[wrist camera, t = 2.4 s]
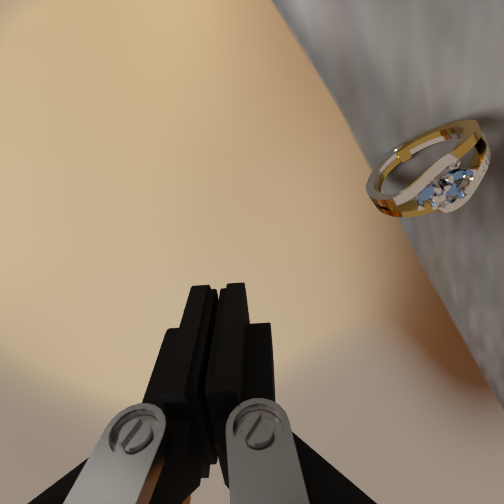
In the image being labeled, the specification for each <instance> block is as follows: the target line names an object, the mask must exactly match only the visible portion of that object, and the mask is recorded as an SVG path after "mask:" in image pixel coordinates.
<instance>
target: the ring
mask: <svg viewBox="0 0 504 504" xmlns="http://www.w3.org/2000/svg"><path fill="white" fill-rule="evenodd" d="M450 139H460V140H459V141H458V143H457V144H456V146H455V147H454V148H453V149H452V151H451V152H450V153H449V154H447V155H445V156H444V157H442V158H441V159H439V160H437V161H436V162H435V163H433V164H432V165H431V166H430V167H429V168H428V169H427V170H426V171H425V172H424V173H423V174H422V175H421V176H420V177H419V178H418V179H417V180H416V181H414V182H413V183H412V184H411V185H410V186H408V187H407V188H406V189H404V190H402V191H400V192H398V193H395V194H382V193H381V186H382V183H383V181H384V179H385V177H386V176H387V174H388V173H389V172H390V171H391V170H392V169H393V168H394V167H395V166H396V165H397V164H399V163H400V162H401V163H402V162H405V161H407V160H408V159H410V158H411V157H412V154H414V153H415V152H417V151H419V150H421V149H423V148H425V147H427V146H430V145H432V144H435V143H438V142H441V141H445V140H450ZM473 146H474V147H475V154H474V158H473V162H472V164H471V166H470V169H468V168H463V167H461V168H458V166H459V165H460V162H461V161H460V160H459V159H460V158H461V157H462V156H463V155H465V154H466V153H467V152H468V151H469V150H470V149H471V148H472V147H473ZM392 151H393V152H391V153H390V154H389V155H387V156H386V157H385V158H384V159H383V160H382V161H381V162H380V163H379V164H378V165H377V166H376V167H375V168H374V170H373V171H372V173H371V174H370V176H369V178H368V181H367V184H366V191H367V194H368V196H369V197H370V199H371V201H372V202H373V203H374V205H375V206H376V208H377V209H378V210H379V211H381V212H382V213H384V214H386V215H389V216H393V217H413V216H419V215H423V214H427V213H431V212H434V211H437V212H440V213H448V212H451V211H454V210H456V209H458V208H460V207H461V206H462V205H463V204H465V203H466V202H467V201H468V200H469V198H470V197H471V196H472V195H473V193H474V192H475V190H476V189H477V187H478V185H479V184H480V182H481V180H482V179H483V177H484V175H485V173H486V171H487V169H488V166H489V163H490V158H491V152H490V147H489V145H488V143H487V140H486V138H485V135H484V134H483V132H482V130H481V128H480V126H479V124H478V122H477V121H475V120H461V121H456V122H452V123H448V124H445V125H442V126H439V127H437V128H434V129H432V130H429V131H427V132H425V133H423V134H421V135H419V136H417V137H415V138H413V139H411V140H410V141H408V142H406V143H405V144H403V143H402V144H400V145H398V146H397V147H395V148H394V149H393V150H392ZM441 171H442V172H441ZM436 176H437V177H436ZM435 177H436V179H434V178H435ZM463 177H465V178H464V180H463V181H462V183H461V184H460V186H458V185H456V184H455V183H453V182H454V181H456V180H460V179H462V178H463ZM445 193H446V194H448V195H452V196H451V197H450V198H448V197H447V195H446V194H445ZM414 196H415V200H413V201H408V200H410V199H411V198H413V197H414ZM407 201H408V202H407Z"/></svg>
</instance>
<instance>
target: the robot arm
mask: <svg viewBox="0 0 504 504" xmlns="http://www.w3.org/2000/svg"><path fill="white" fill-rule="evenodd" d="M218 458H219V462H220V466H221V470H222V474H223V478H224V482H225V485H226V486H227V487H228V488H229V490H230V504H377V503H375V502H374V501H373V500H372V499H371V498H370V497H368V496H367V495H366V494H365V493H364V492H363V491H361V490H360V489H359V488H358V487H357V486H355V485H354V484H353V483H352V482H351V481H350V480H348V479H347V478H346V477H345V476H344V475H342V474H341V473H340V472H339V471H338V470H337V469H335V468H334V467H333V466H332V465H331V464H329V463H328V462H327V461H326V460H325V459H324V458H322V457H321V456H320V455H319V454H318V453H316V452H315V451H314V450H313V449H312V448H310V447H309V446H308V445H307V444H306V443H305V442H303V441H302V440H301V439H300V438H299V437H298V436H296V435H295V434H294V433H293V432H292V430H291V427H290V422H289V419H288V417H287V414H286V412H285V411H284V410H283V409H282V408H281V406H280V405H279V404H277V403H275V383H274V363H273V347H272V336H271V324H270V323H255V324H250V321H249V313H248V305H247V297H246V290H245V283H230V284H227V287H226V288H224V289H221V290H220V296H219V300H218V294H217V290H216V289H211V287H210V285H199V286H192V287H191V290H190V293H189V296H188V300H187V303H186V307H185V310H184V313H183V317H182V320H181V323H180V327H179V328H170V329H168V330H167V331H166V334H165V336H164V340H163V343H162V345H161V348H160V351H159V355H158V357H157V360H156V363H155V366H154V369H153V372H152V375H151V378H150V381H149V384H148V387H147V390H146V393H145V395H144V398H143V402H142V403H139V404H136V405H132V406H129V407H128V408H126V409H125V410H122V411H121V412H119V413H118V414H117V415H116V416H115V417H114V418H113V419H112V420H111V421H110V423H109V424H108V425H107V427H106V428H105V430H104V432H103V434H102V435H101V437H100V439H99V441H98V443H97V444H96V446H95V448H94V450H93V451H92V453H91V455H90V457H89V458H88V459H86V460H85V461H84V462H82V463H81V464H80V465H79V466H77V467H76V468H74V469H73V470H72V471H70V472H69V473H68V474H66V475H65V476H64V477H63V478H61V479H60V480H58V481H57V482H56V483H55V484H53V485H52V486H51V487H49V488H48V489H46V490H45V491H44V492H42V493H41V494H40V495H39V496H37V497H36V498H35V499H33V500H32V501H31V502H29V503H28V504H190V500H191V493H192V492H193V491H195V490H196V489H197V488H198V487H199V486H200V481H201V478H208V477H209V470H210V464H216V463H217V459H218Z"/></svg>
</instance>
